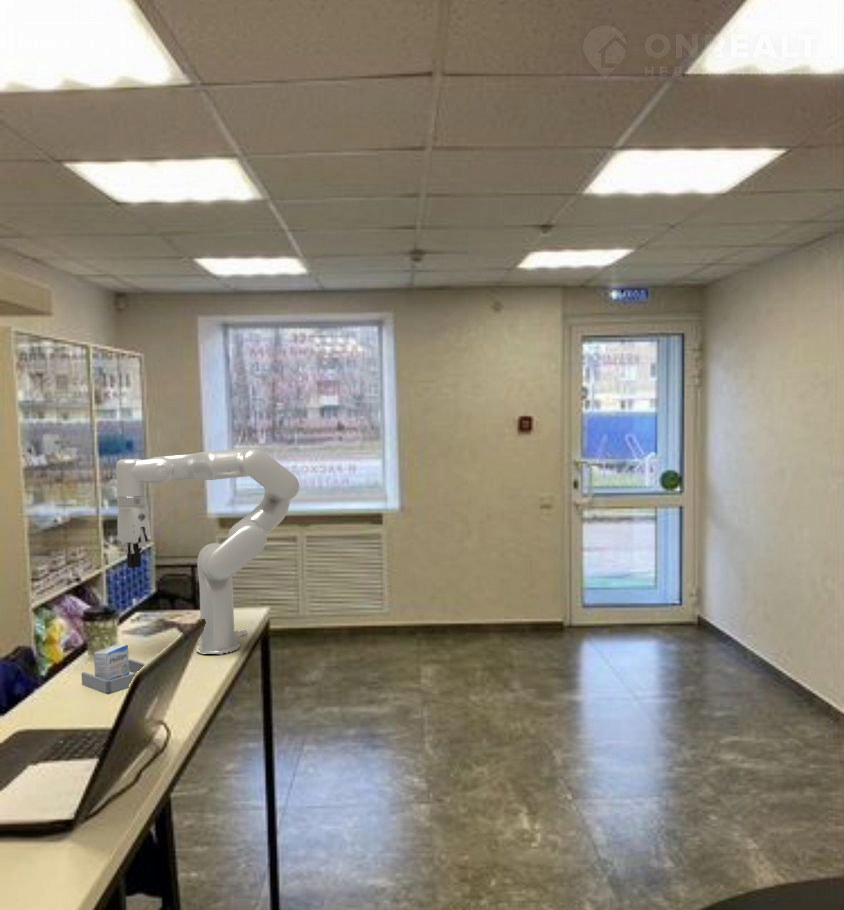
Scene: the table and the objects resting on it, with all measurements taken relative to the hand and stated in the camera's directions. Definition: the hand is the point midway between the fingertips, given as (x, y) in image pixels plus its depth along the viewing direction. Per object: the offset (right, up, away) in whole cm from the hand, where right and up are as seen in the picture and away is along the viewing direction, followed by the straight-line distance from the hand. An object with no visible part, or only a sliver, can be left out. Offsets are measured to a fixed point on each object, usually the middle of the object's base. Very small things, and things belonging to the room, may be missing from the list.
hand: (134, 566), depth 204 cm
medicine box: (0, -28, -15) cm, 32 cm away
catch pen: (+2, -28, -15) cm, 32 cm away
